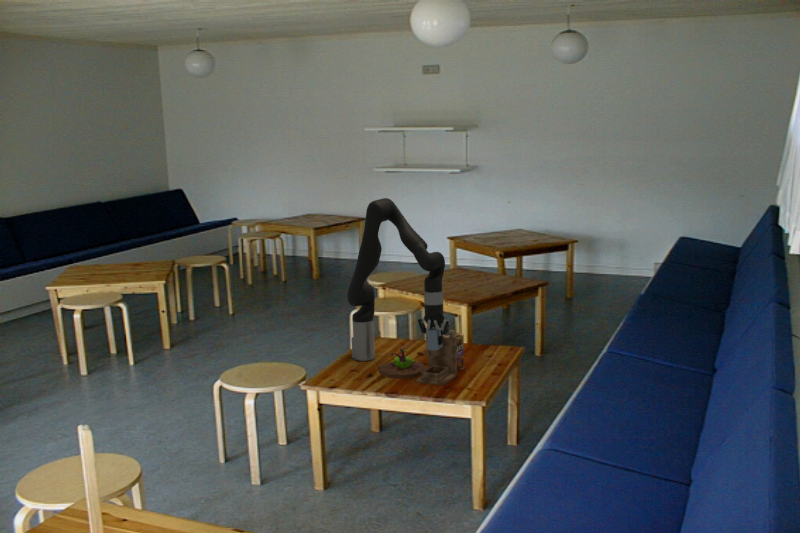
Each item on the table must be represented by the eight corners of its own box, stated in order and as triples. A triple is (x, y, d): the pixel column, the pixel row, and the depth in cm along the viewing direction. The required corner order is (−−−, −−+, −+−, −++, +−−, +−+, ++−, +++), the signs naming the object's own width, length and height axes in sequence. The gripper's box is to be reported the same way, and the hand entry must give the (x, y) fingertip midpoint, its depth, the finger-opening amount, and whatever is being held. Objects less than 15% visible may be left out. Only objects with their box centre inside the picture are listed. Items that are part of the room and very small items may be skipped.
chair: (416, 382, 300) (414, 336, 298) (430, 372, 313) (429, 327, 310) (444, 385, 295) (443, 338, 292) (457, 375, 308) (456, 330, 305)
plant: (387, 382, 303) (386, 355, 301) (373, 369, 321) (372, 344, 319) (433, 376, 309) (433, 349, 307) (417, 363, 327) (416, 339, 326)
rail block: (427, 349, 299) (426, 330, 298) (434, 345, 305) (433, 326, 304) (436, 350, 298) (436, 331, 296) (443, 346, 304) (442, 327, 302)
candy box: (447, 373, 311) (446, 337, 308) (441, 371, 314) (440, 335, 312) (464, 369, 316) (463, 334, 313) (458, 367, 319) (457, 332, 317)
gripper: (413, 303, 298) (414, 345, 301) (446, 305, 292) (447, 348, 295) (421, 299, 305) (422, 340, 307) (453, 301, 299) (454, 343, 301)
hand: (434, 344), depth 301 cm, fingers closed on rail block, 4 cm apart
